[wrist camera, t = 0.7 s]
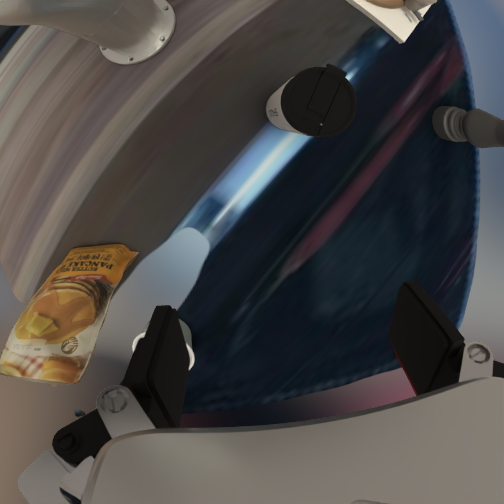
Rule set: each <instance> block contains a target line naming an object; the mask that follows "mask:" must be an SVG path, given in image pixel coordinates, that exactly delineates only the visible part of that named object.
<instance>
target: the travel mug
mask: <svg viewBox="0 0 504 504" xmlns="http://www.w3.org/2000/svg"><path fill="white" fill-rule="evenodd" d="M326 66H327V68H325V67H313V68H308V69H306V70H303V71H301V72H300V73H298V74H297V75H296V76H294V77H292V78H291V79H290V80H289V81H287V82H286V83H285V84H284V85H283V86H282V87H280V88H279V89H278V90H277V91H276V92H275V93H274V94H272V95H271V97H270V98H269V99H268V101H267V104H266V114H267V117H268V119H269V121H270V122H271V123H272V124H273V125H274V126H276V127H277V128H279V129H283V130H287V131H291V132H295V133H299V134H303V135H307V136H314V137H331V136H335V135H337V134H339V133H341V132H342V131H344V130H345V129H346V128H347V127H348V126H349V125H350V124H351V122H352V120H353V119H354V116H355V113H356V108H357V98H356V95H355V91H354V89H353V87H352V85H351V84H350V82H349V81H348V80H347V79H346V78H345V76H346V74H347V73H346V72H345V71H343V70H342V69H340V68H338V67H336V66H334V65H331V64H327V65H326Z"/></svg>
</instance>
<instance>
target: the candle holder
mask: <svg viewBox="0 0 504 504" xmlns="http://www.w3.org/2000/svg"><path fill="white" fill-rule="evenodd" d="M432 123H433V128H434V130H435V132H436V134H437V135H438V136H439V137H440V138H442V139H446V140H450V141H454V142H459V141H461V142H464V141H467V140H468V141H469V142H470V143H471V144H472V145H474V146H476V147H479V148H488V147H504V120H501V119H499V118H497V117H495V116H493V115H491V114H489V113H487V112H485V111H483V110H480V109H473V110H470V111H469V112H466V111H465V110H463V109H460V108H457V107H453V106H441V107H438V108H437V109H436V110H435V111H434V114H433V119H432Z"/></svg>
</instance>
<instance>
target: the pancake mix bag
mask: <svg viewBox="0 0 504 504" xmlns="http://www.w3.org/2000/svg"><path fill="white" fill-rule="evenodd" d="M138 253H139V252H135V251H131V250H130V249H129V248H128V247H127V246H126V245H124V244H108V245H98V246H90V247H77V248H74V249H72V250H71V251H70V252H69V254H68V255H67V257H66V258H65V259H64V261H63V262H62V263H61V264H60V265H59V266H58V267H57V268H56V269H55V270H54V272H53V273H52V274H51V275H50V276H49V278H48V279H47V280H46V282H45V283H44V284H43V285H42V286H41V288H40V289H39V290H38V291H37V292H36V294H35V295H34V296H33V298H32V299H31V300H30V301H29V303H28V304H27V305H26V307H25V309H24V310H23V312H22V313H21V315H20V316H19V318H18V319H17V321H16V323H15V325H14V327H13V329H12V331H11V333H10V335H9V337H8V339H7V342H6V345H5V347H4V349H3V351H2V353H1V356H0V374H1V375H5V376H10V377H16V378H21V379H24V380H28V381H35V382H45V383H53V384H75V383H78V382H80V380H81V378H82V377H83V375H84V374H85V371H86V369H87V367H88V365H89V362H90V359H91V357H92V354H93V351H94V349H95V345H96V340H97V337H98V334H99V332H100V330H101V327H102V325H103V323H104V320H105V317H106V314H107V311H108V307H109V303H110V299H111V296H112V293H113V291H114V289H115V288H116V286H117V285H118V283H119V281H120V280H121V278H122V275H123V272H124V271H125V270H126V269H127V268H128V267H129V266H130V265H131V264H132V263H133V262H134V260H135V259H136V257H137V255H138Z"/></svg>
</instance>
